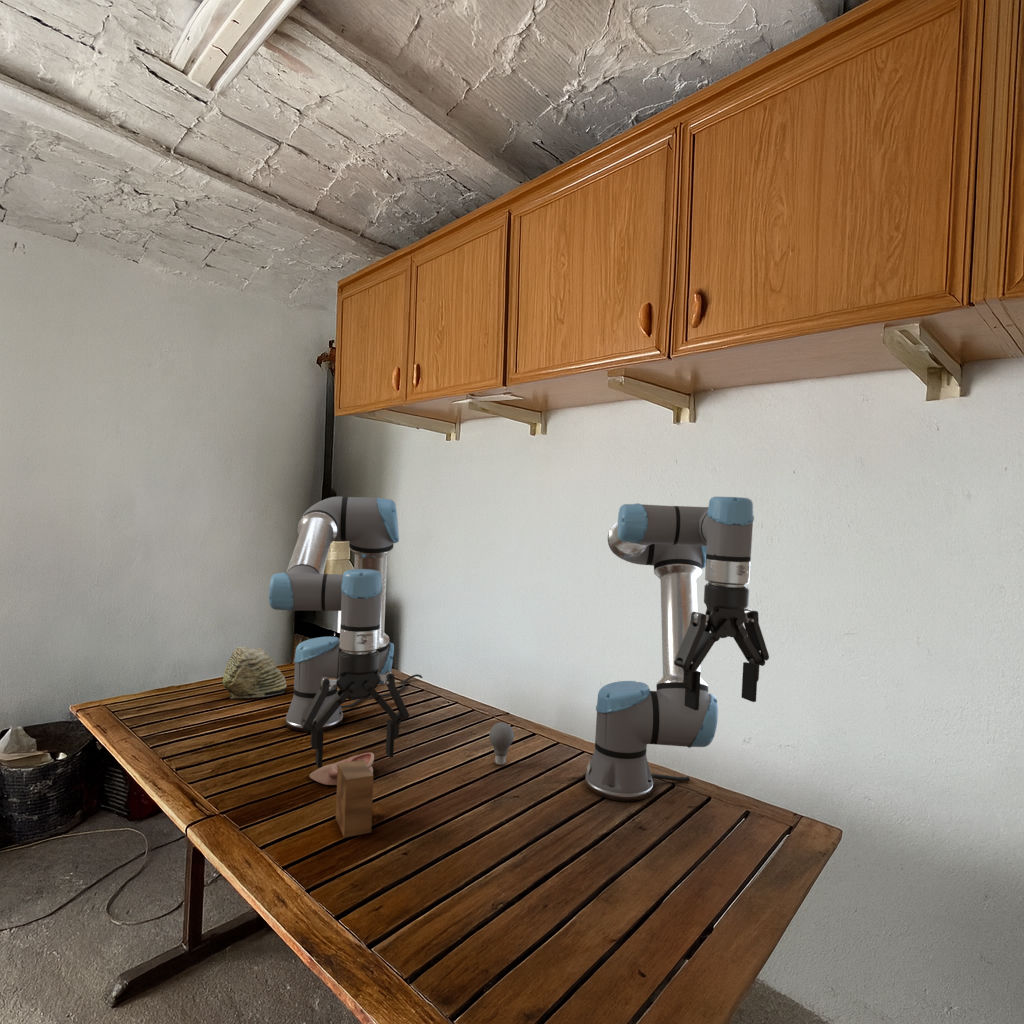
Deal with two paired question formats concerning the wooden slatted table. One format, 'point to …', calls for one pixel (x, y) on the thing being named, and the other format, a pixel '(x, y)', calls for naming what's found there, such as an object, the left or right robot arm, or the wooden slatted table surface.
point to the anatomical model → (329, 772)
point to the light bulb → (501, 741)
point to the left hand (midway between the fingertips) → (355, 759)
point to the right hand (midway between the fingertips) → (720, 703)
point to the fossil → (252, 674)
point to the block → (354, 798)
